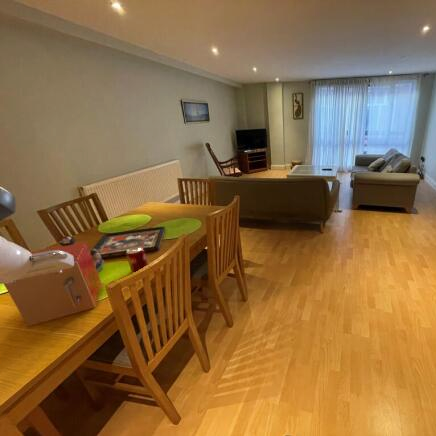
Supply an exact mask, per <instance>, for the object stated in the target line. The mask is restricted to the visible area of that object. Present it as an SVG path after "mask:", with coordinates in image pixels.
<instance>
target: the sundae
mask: <svg viewBox="0 0 436 436" xmlns="http://www.w3.org/2000/svg"><path fill="white" fill-rule="evenodd" d="M58 235H59V236H60V235H61V237H60V238H61V239H60V241H59V243H58V245H60V246H61V247H63V246H68V245H74V244H76V240H77V239H76V238H74V237H70V236H66V235H63V234H62V233H58Z"/></svg>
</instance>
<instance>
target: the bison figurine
mask: <svg viewBox="0 0 436 436" xmlns="http://www.w3.org/2000/svg"><path fill="white" fill-rule="evenodd" d="M89 251H90V253H91V256H92V259H93V261H94V264H95V267H96V269H97V272H98V273H99V271H100V270H101V269H102V267H103V266H104V264H105V260H104V259H103V258H101V255H100V254H99V252H98V250H97V249H93V248H90V249H89Z"/></svg>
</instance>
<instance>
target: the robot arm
mask: <svg viewBox="0 0 436 436" xmlns="http://www.w3.org/2000/svg"><path fill="white" fill-rule="evenodd" d="M16 209H17V199H16V197H15V196H14V195H13V194H12V193H11V192H10V191H8V190H7V189H6V188H4V187H2V186H0V222H2V221H4V220H5V219H7V218H9V217H11V216H12V215H14V214H15V213H16ZM73 266H74V257H73V255H71V254H69V253H66V252H64V251H59V250H54V251H47V252H42V253H37V254H31V253H30V250H28V249H27V248H25V247H23V246H21V245H18V244H16V243H15V242H12V241H9V240H7V239H6V238H5V237H3V236H1V235H0V285H4V284H6V283H7V284H13V283H17V282H18V280H19V279H24V278H28V277H33V276H38V275H42V274H47V273H51V272H53V273H54V274H58V273H62V270H65V269H70V268H72V267H73Z"/></svg>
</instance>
